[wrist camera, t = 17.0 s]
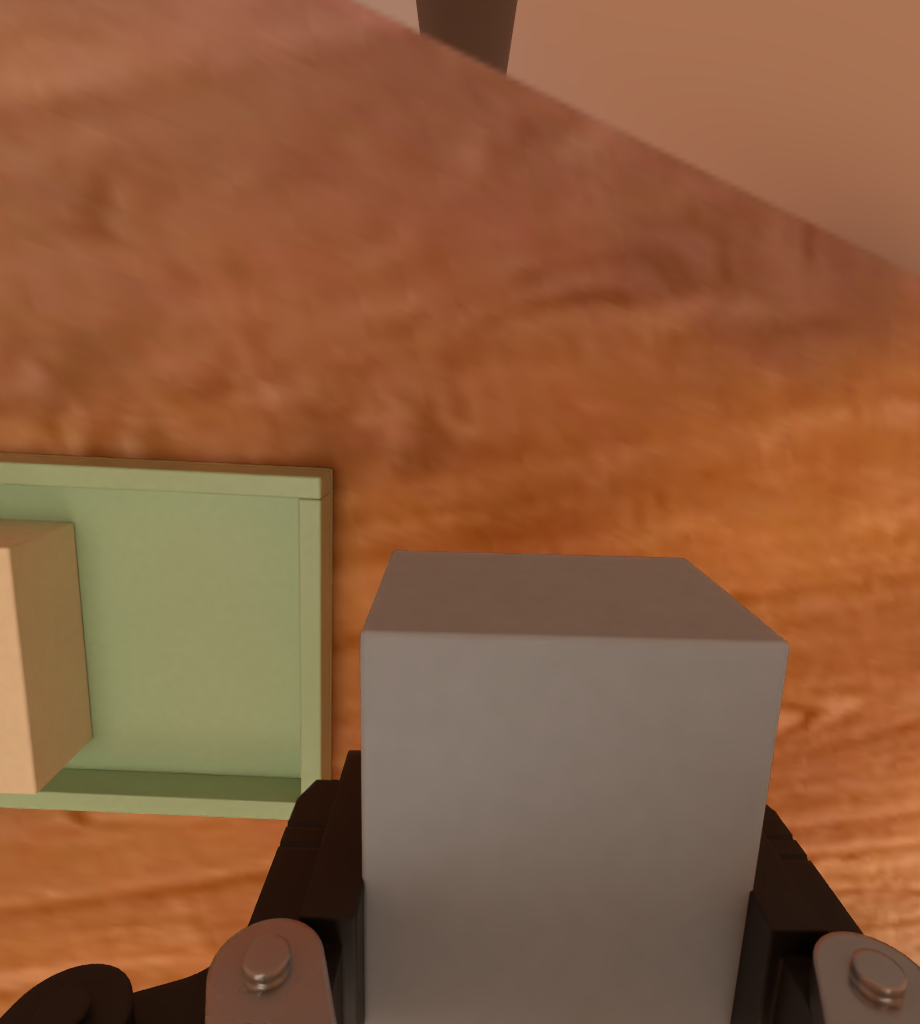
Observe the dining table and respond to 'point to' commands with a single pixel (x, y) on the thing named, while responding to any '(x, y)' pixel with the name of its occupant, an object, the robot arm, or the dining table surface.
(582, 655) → the blue-grey pad
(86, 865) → the dining table surface
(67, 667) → the cream pad
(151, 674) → the tray
